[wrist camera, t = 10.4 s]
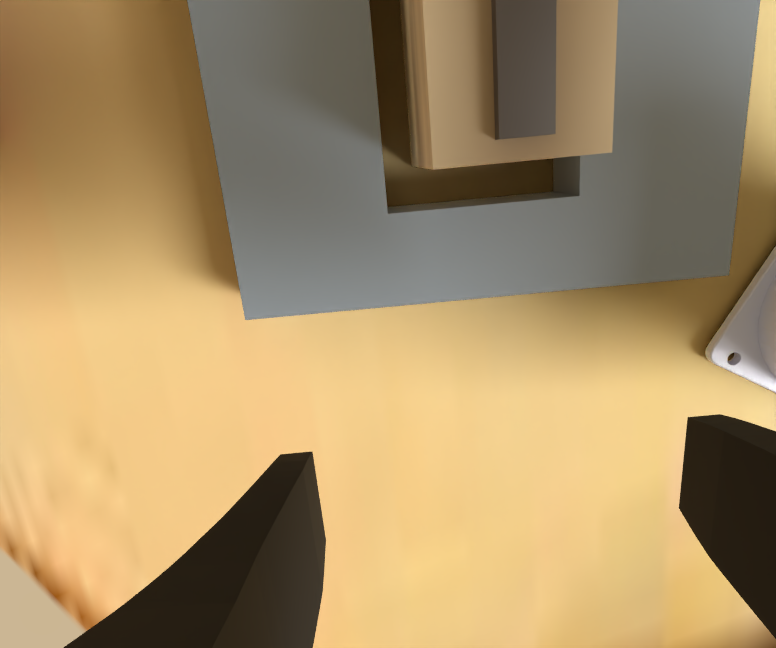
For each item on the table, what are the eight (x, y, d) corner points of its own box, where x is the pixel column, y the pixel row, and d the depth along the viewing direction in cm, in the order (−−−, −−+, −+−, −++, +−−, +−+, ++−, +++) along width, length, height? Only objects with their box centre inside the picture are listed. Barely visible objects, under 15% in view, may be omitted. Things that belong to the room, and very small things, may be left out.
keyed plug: (522, -44, 16) (635, -198, 9) (524, 155, 18) (620, 152, 11) (396, -31, 16) (414, -177, 9) (411, 166, 18) (435, 170, 11)
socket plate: (726, -210, 15) (792, -280, 13) (685, 261, 19) (729, 275, 17) (183, -157, 15) (147, -217, 13) (261, 300, 19) (245, 320, 17)
